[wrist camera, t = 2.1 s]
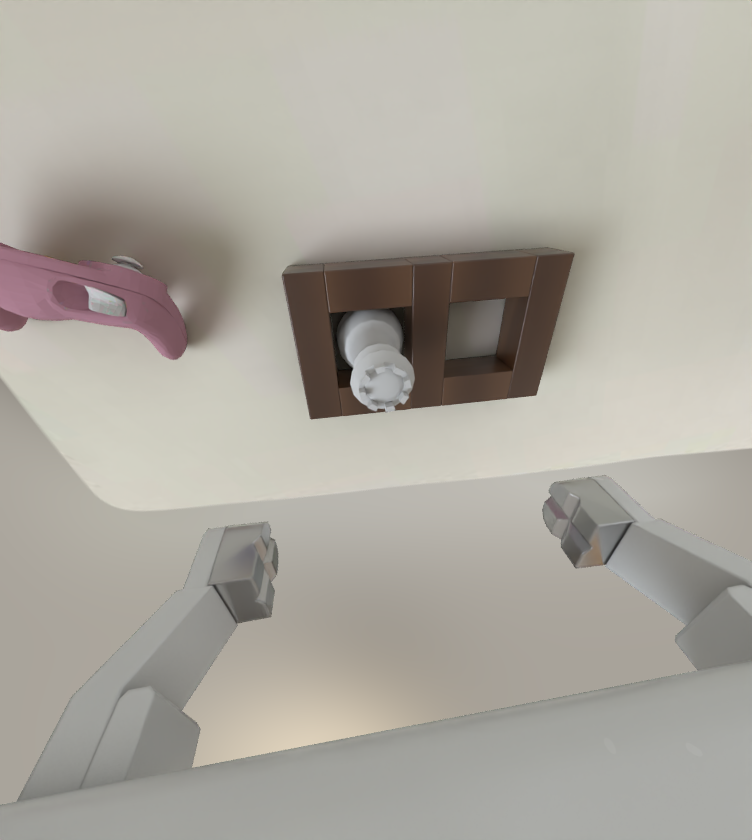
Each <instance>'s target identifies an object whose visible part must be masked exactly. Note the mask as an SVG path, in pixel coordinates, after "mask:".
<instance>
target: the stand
mask: <svg viewBox="0 0 752 840" xmlns="http://www.w3.org/2000/svg"><path fill="white" fill-rule="evenodd" d="M573 257H574V253H573V252H568V251H562V250H557V249H552V248H533V249H519V250H505V251H491V252H477V253H463V254H449V255H440V256H438V255H435V256H421V257H407V258H393V259H379V260H365V261H351V262H337V263H325V265H324V264H309V265H295V266H288V267H287V268H286V269H285V271H284V272H283V274H282V280H283V285H284V290H285V295H286V300H287V305H288V310H289V315H290V320H291V325H292V330H293V335H294V340H295V345H296V350H297V355H298V360H299V365H300V370H301V375H302V380H303V385H304V390H305V395H306V400H307V405H308V410H309V415H310V419H319V418H328V417H338V416H349V415H358V414H368V413H377V412H386V411H385V409H379V408H378V409H377V411H374V410H371V409H369V408H368V406H367V405H364V404H362V403H361V402H360V401H359V400H358V399H357V398H356V397H355V396H354V394H353V391H352V388H351V385H350V382H351V374H352V371H353V369H347V370H338V367H337V359H336V351H335V343H334V336H333V328H332V320H331V313H336V312H348V311H360V310H373V309H385V308H397V307H404V357H406V358H407V360H408V361H409V363H410V364H411V365H412V367H413V371H414V376H415V380H414V384H413V388H412V390H411V392H410V393H409V394H408V395H409V398H408V399H407V401H406V402H405V403H404V404H402V403H401V402H400V403H399V404H397V405H396V406H394V407H395V410H394V411H396V410H406V409H411V408H412V409H413V408H423V407H432V406H441V405H442V406H443V405H452V404H462V403H471V402H481V401H490V400H500V399H507V398H517V397H526V396H536V395H537V391H538V387H539V384H540V380H541V376H542V372H543V369H544V365H545V361H546V358H547V354H548V350H549V346H550V343H551V339H552V335H553V332H554V328H555V324H556V320H557V317H558V313H559V309H560V306H561V302H562V298H563V295H564V291H565V287H566V283H567V280H568V276H569V272H570V269H571V265H572V261H573ZM505 298H506V301H505V307H504V313H503V318H502V324H501V330H500V336H499V342H498V347H497V353H496V356H495V355H494V356H483V357H473V358H462V359H452V360H445V353H446V340H447V327H448V314H449V302H450V303H457V302H469V301H481V300H493V299H505Z"/></svg>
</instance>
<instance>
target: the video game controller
mask: <svg viewBox="0 0 752 840" xmlns="http://www.w3.org/2000/svg"><path fill="white" fill-rule="evenodd" d="M111 258H112V260H114V261H115V262H117V263H120V264H106V263H100V262H95V261H86V260H82V261H79V263H78V264H74V263H70V262H66V261H62V260H58V259H54V258H51V257H48V256H42V255H38V254H33V253H29V252H25V251H21V250H18V249H15V248H13V247H10V246H8V245H5V244H3V243H0V330H4V331H15V330H19V329H21V328H22V327H23V326H24V325H25V324H26V322H27V320H28V318H33V319H38V320H56V321H60V320H72V319H74V320H80V321H85V322H91V323H96V324H101V325H108V326H116V327H124V328H132V329H135V330H137V331H139V332H140V333H142V334H143V335H144V336H145V337H146V338H147V339H148V340H150V341H151V343H152V344H153V345H154V346H155V348H156V349H157V350H158V351H159V352H160V353H161V354H162V355H163V356H164V357H167V358H169V359H172V360H175V359H178V358H179V357H181V356H182V354H183V353H184V351H185V349H186V346H187V333H186V328H185V324H184V321H183V318H182V316H181V314H180V312H179V310H178V308H177V306H176V305H175V303H174V302H173V300H172V299H171V298H170V296H169V295H168V293H167V285H166V284H164V283H163V282H161V281H159V280H157V279H154V278H152V277H150V276H147V275H144V274H142V273H141V272H140V271H138V270H137V269H143V266H142V265H141V264H139V263H138V262H137V261H136V260H134V259H132V258H130V257H127V256H113V257H111ZM135 268H137V269H135Z"/></svg>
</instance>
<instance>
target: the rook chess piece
mask: <svg viewBox="0 0 752 840" xmlns="http://www.w3.org/2000/svg"><path fill="white" fill-rule="evenodd" d="M336 340H337V343H338V347H339V350H340V353H341V356H342V357H343V359H344V360H345V361H346V362H347V363H348V364H349V365H350V366H351V367H352V368H353V371H352V374H351V382H350V385H351V388H352V391H353V394H354V396H355V397H356V398H357V399H358V400H359V401H360V402H361V403H362V404H364V405H367V406H368V408H369V409H371V410H374V411H377V409H378V408H379V409H385V411H386V412H390V411H394V410H395V407H394V406H396V405H397V404H399V403H400V402H401V403H402V404H404V403H405V402H406V401H407V399H408V398H409V395H408V394H409V393H410V392H411V390H412V388H413V384H414V380H415V376H414V371H413V367H412V365H411V364H410V363H409V361H408V360H407V358H406V357H404V356H402V355H401V350H402V345H403V341H404V338H403V332H402V327H401V325H400V322H399V320H398V319H397V317H396V316H395V314H394V313H393V311H391V310H389V309H388V308H385V309H373V310H360V311H348V312H347V313H346V314H345V315H344V316H343V318H342V319H341V321H340V323H339V325H338V327H337V338H336Z"/></svg>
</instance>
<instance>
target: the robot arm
mask: <svg viewBox="0 0 752 840" xmlns="http://www.w3.org/2000/svg"><path fill="white" fill-rule="evenodd" d="M549 493H550V494H551V497H550V498H549V499H548V500H546V501H545V503H544V506H543V509H542V511H543V519H544V521H545V524H546V526H547V527H548V529H549V530H550V532H551V534H553V535H555V536H556V537H558V538H559V539H561V548H562V549H563V551H564V552H565V554H566V555H567V557H568V558H569V559H570V561H571V562H572V564H573V565H574V567H575V568H584V567H591V566H600V565H606V566H605V567H607V568H608V569H609V570H611V571H612V572H613V573H615V574H616V575H618V576H619V577H620V578H622V579H623V580H624V581H626V582H627V583H629V584H630V585H632V586H633V587H634V588H635V589H637V590H638V591H640V592H641V593H642V594H644V595H645V596H646V597H648V598H649V599H651V600H652V601H654V602H655V603H656V604H658V605H659V606H660V607H662V608H663V609H664V610H666V611H667V612H669V613H670V614H671V615H673V616H674V617H676V618H677V619H678V620H680V621H681V622H682V623H684V624H685V625H686V626H685V627H684V628H683V629H682V630H681V631H680V632H679V633H678V634H677V635H676V637H675V642H676V644H677V645H678V646H679V647H680V649H681V650H682V651H683V653H684V654H685V655H686V656H687V658H688V659H689V660H690V661H691V663H692V664H693V665H694V666H695V668H696V669H697V670H698V671H693V672H688V673H683V674H677V675H672V676H668V677H662V678H657V679H652V680H646V681H641V682H636V683H631V684H625V685H621V686H615V687H610V688H605V689H600V690H594V691H589V692H584V693H579V694H573V695H569V696H563V697H558V698H553V699H548V700H542V701H538V702H532V703H527V704H522V705H516V706H512V707H507V708H501V709H496V710H491V711H485V712H480V713H475V714H470V715H464V716H459V717H454V718H449V719H444V720H439V721H433V722H429V723H424V724H418V725H412V726H407V727H402V728H397V729H392V730H386V731H381V732H376V733H371V734H366V735H361V736H355V737H350V738H345V739H340V740H335V741H329V742H325V743H319V744H314V745H309V746H303V747H299V748H294V749H288V750H283V751H278V752H272V753H267V754H262V755H257V756H252V757H246V758H241V759H236V760H231V761H226V762H220V763H215V764H210V765H205V766H200V767H195V768H192V764H193V760H194V756H195V751H196V747H197V743H198V738H199V734H200V727H199V726H198V724H197V722H195V721H194V720H193V719H192V718H190V717H189V716H188V715H186V714H185V713H184V712H183V711H182V710H183V708H184V706H185V705H186V703H187V702H188V700H189V699H190V697H191V696H192V694H193V693H194V691H195V690H196V688H197V687H198V685H199V684H200V682H201V681H202V679H203V678H204V676H205V675H206V673H207V671H208V670H209V668H210V667H211V665H212V664H213V662H214V661H215V659H216V658H217V656H218V655H219V653H220V652H221V650H222V649H223V647H224V645H225V644H226V643H227V641H228V639H229V638H230V636H231V635H232V633H233V632H234V630H235V629H236V627H237V623H242V622H247V621H252V620H258V619H262V618H268V617H271V615H272V608H273V600H274V593H275V590H274V588H273V586H272V583H271V582H272V580H273V579H274V578H275V577H276V575H277V570H278V549H277V545H276V542H275V540H274V539H272V538H271V537H270V533H271V528H270V526H269V524H268V522H259V523H250V524H241V525H232V526H225V527H216V528H208V530H207V531H206V532H205V534H204V535H203V538H202V540H201V543H200V545H199V548H198V551H197V553H196V556H195V559H194V561H193V564H192V566H191V569H190V572H189V574H188V577H187V580H186V582H185V585H184V587H183V590H178V591H176V592H175V593H174V594H173V595H172V596H171V597H170V598H169V599H168V600H167V601H166V602H165V603H164V604H163V605H162V606H161V607H160V608H159V609H158V610H157V611H156V612H155V613H154V614H153V615H152V616H151V617H150V618H149V619H148V620H147V621H146V622H145V623H144V624H143V625H142V626H141V627H140V628H139V629H138V630H137V631H136V632H135V633H134V634H133V635H132V636H131V637H130V638H129V639H128V640H127V641H126V642H125V643H124V644H123V645H122V646H121V647H120V648H119V649H118V650H117V651H116V652H115V653H114V654H113V655H112V656H111V657H110V658H109V659H108V661H106V662H105V663H104V664H103V666H101V667H100V668H99V669H98V671H96V673H95V674H94V675H93V676H92V677H91V678H90V679H89V680H88V681H87V682H86V683H85V684H84V685H83V686H82V687H81V688H80V689H79V690H78V691H77V692H76V693H75V694H74V695H73V696H72V697H71V699H70V701H69V703H68V704H67V706H66V708H65V710H64V712H63V714H62V716H61V718H60V720H59V722H58V724H57V726H56V727H55V729H54V731H53V733H52V735H51V737H50V739H49V741H48V743H47V744H46V746H45V748H44V750H43V752H42V754H41V756H40V758H39V760H38V762H37V764H36V766H35V767H34V769H33V771H32V773H31V775H30V777H29V779H28V781H27V783H26V785H25V787H24V788H23V790H22V792H21V794H20V796H19V798H18V800H17V802H13V803H8V804H2V805H0V840H752V561H750V560H748V559H746V558H744V557H742V556H740V555H737V554H735V553H733V552H731V551H729V550H727V549H725V548H723V547H720V546H718V545H716V544H714V543H712V542H710V541H708V540H705V539H703V538H701V537H699V536H697V535H695V534H693V533H690V532H688V531H686V530H684V529H682V528H680V527H678V526H675V525H673V524H671V523H669V522H667V521H665V520H663V519H655V518H654V517H652V516H651V515H650V514H649V513H648V512H647V511H646V510H645V509H644V508H643V507H642V506H641V505H640V504H639V503H638V502H637V501H635V500H634V499H633V498H632V497H631V496H630V495H629V494H628V493H627V492H626V491H625V490H624V489H623V488H622V487H621V486H620V485H618V484H617V483H616V482H615V481H614V480H613V479H612V478H610V477H608V476H606V475H602V476H595V477H588V478H579V479H572V480H566V481H559V482H554V483H553V484H552V485H551V487H550V489H549Z"/></svg>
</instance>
